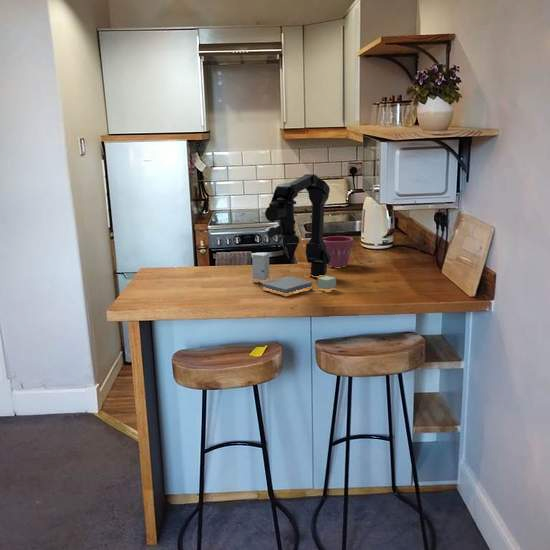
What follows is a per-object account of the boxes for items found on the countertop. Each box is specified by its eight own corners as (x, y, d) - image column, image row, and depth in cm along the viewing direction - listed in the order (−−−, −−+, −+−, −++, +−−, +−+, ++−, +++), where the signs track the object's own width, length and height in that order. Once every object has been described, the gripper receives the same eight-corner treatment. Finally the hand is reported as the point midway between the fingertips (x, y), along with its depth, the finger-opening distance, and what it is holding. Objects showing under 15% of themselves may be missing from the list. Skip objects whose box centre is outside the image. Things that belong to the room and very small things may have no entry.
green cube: (326, 287, 229) (326, 275, 227) (336, 290, 225) (335, 277, 224) (317, 290, 226) (317, 278, 224) (327, 292, 222) (326, 280, 221)
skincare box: (252, 282, 240) (250, 254, 237) (258, 280, 244) (256, 252, 241) (265, 284, 237) (263, 255, 234) (270, 281, 241) (269, 253, 238)
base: (288, 283, 237) (288, 276, 237) (312, 289, 227) (312, 282, 226) (262, 290, 228) (261, 283, 228) (286, 297, 218) (285, 289, 217)
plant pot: (352, 262, 269) (352, 235, 266) (353, 269, 256) (353, 241, 252) (322, 262, 271) (321, 236, 267) (321, 270, 257) (320, 241, 254)
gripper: (263, 215, 228) (265, 253, 232) (268, 222, 210) (270, 264, 214) (291, 213, 229) (292, 251, 233) (298, 220, 211) (300, 262, 215)
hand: (288, 257), depth 224 cm, fingers open, 9 cm apart
